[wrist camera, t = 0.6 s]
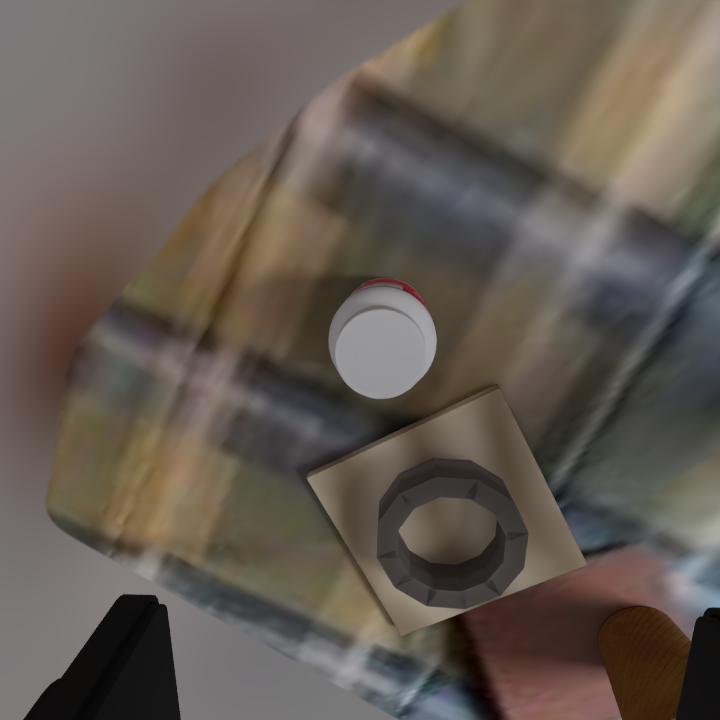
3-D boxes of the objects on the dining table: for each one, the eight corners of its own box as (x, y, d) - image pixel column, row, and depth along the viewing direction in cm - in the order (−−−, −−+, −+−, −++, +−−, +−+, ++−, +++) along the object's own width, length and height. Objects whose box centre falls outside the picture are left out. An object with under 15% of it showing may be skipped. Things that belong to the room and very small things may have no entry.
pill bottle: (427, 361, 36) (440, 414, 25) (344, 361, 36) (321, 413, 25) (429, 275, 34) (443, 293, 23) (341, 276, 35) (317, 293, 24)
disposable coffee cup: (566, 676, 41) (632, 848, 30) (589, 581, 39) (671, 727, 27) (681, 692, 41) (794, 872, 29) (712, 596, 39) (847, 752, 27)
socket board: (496, 383, 36) (509, 401, 32) (582, 556, 38) (603, 592, 35) (308, 472, 38) (299, 498, 35) (401, 626, 41) (402, 667, 37)
